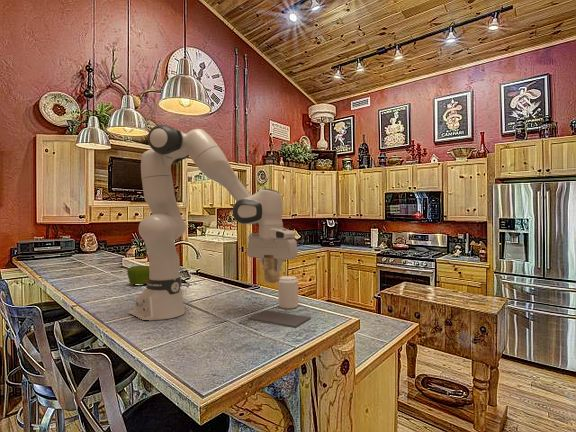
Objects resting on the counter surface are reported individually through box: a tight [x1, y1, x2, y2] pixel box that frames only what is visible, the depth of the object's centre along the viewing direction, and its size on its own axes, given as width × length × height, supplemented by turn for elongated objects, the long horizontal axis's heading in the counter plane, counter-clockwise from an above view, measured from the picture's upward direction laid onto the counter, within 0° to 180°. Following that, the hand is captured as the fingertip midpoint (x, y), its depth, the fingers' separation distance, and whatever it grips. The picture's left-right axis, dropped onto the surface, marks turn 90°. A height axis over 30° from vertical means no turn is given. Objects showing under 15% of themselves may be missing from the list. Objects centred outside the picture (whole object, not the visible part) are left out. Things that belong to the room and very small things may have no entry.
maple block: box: [263, 255, 281, 284], centre depth 124 cm, size 4×4×10 cm
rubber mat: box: [247, 309, 311, 329], centre depth 123 cm, size 20×11×1 cm, turn 59°
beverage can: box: [277, 275, 299, 310], centre depth 139 cm, size 8×8×12 cm
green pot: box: [126, 265, 149, 285], centre depth 188 cm, size 12×12×11 cm
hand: (271, 270), depth 124 cm, fingers closed on maple block, 4 cm apart
